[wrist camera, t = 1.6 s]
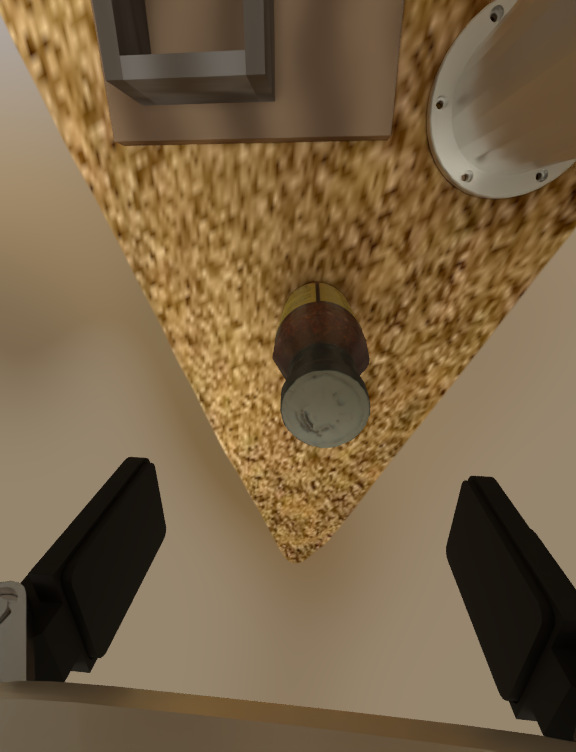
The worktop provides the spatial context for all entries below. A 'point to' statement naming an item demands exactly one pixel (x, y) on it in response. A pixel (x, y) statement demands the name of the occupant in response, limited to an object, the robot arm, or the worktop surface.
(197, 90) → the bottle caddy
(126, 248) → the worktop surface
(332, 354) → the sauce bottle
